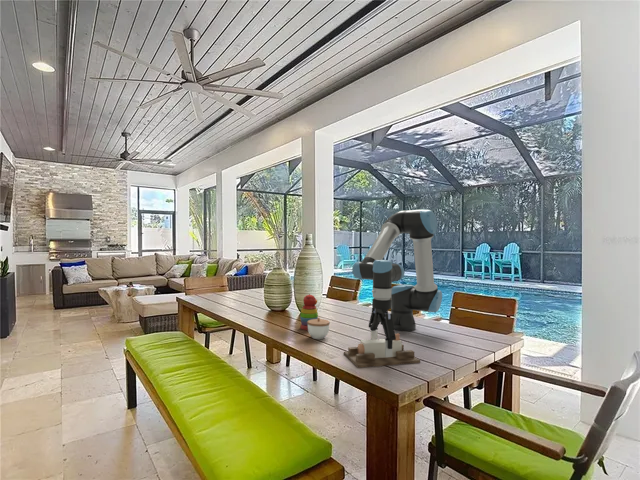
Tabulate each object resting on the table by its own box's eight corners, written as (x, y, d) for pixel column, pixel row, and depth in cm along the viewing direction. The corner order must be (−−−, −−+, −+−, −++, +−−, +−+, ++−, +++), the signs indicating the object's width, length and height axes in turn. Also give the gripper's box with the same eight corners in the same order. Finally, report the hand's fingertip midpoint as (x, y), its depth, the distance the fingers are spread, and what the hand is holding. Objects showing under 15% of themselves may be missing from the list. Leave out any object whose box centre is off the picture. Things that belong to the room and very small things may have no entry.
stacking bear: (316, 331, 180) (317, 296, 180) (297, 330, 182) (298, 295, 182) (320, 326, 191) (321, 293, 191) (302, 325, 193) (303, 292, 193)
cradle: (400, 349, 152) (400, 341, 152) (420, 362, 136) (420, 353, 136) (343, 354, 145) (343, 345, 145) (357, 367, 130) (357, 358, 130)
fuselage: (396, 352, 145) (396, 332, 145) (401, 356, 140) (401, 335, 140) (357, 355, 140) (357, 334, 140) (361, 359, 136) (362, 337, 136)
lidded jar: (307, 334, 175) (308, 315, 175) (329, 334, 174) (329, 315, 174) (306, 340, 164) (306, 320, 164) (329, 340, 163) (329, 320, 163)
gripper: (361, 293, 152) (360, 342, 152) (387, 304, 128) (386, 362, 128) (377, 293, 154) (376, 341, 154) (405, 303, 130) (404, 360, 130)
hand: (380, 351), depth 141 cm, fingers open, 13 cm apart
